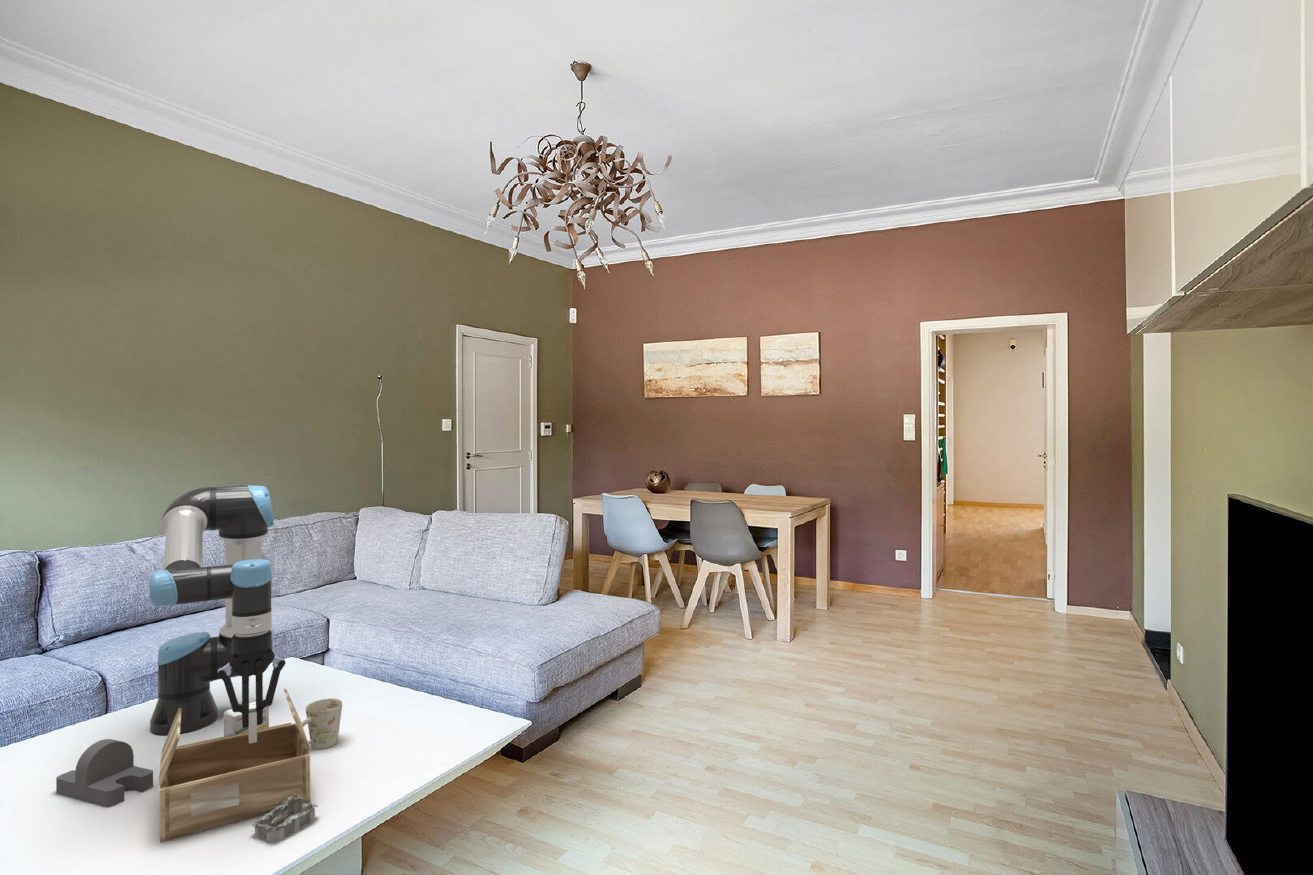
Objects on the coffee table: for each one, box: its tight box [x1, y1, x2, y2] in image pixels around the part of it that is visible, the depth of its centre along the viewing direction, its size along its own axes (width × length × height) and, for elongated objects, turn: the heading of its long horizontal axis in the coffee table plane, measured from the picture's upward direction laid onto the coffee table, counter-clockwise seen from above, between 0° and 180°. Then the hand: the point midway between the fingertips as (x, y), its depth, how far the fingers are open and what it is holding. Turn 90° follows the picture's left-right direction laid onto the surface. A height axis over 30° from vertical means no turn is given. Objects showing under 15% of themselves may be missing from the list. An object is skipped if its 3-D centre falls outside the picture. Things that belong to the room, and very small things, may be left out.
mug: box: [301, 698, 343, 750], centre depth 172 cm, size 8×13×10 cm, turn 161°
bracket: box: [55, 738, 154, 808], centre depth 152 cm, size 10×18×11 cm, turn 70°
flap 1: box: [157, 708, 182, 786], centre depth 141 cm, size 18×9×1 cm
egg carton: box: [251, 793, 319, 844], centre depth 138 cm, size 11×8×4 cm
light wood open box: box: [159, 722, 311, 843], centre depth 148 cm, size 22×26×10 cm
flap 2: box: [283, 687, 312, 752], centre depth 154 cm, size 18×9×1 cm
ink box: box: [223, 701, 270, 737], centre depth 168 cm, size 8×5×12 cm, turn 147°
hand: (252, 740), depth 149 cm, fingers closed
